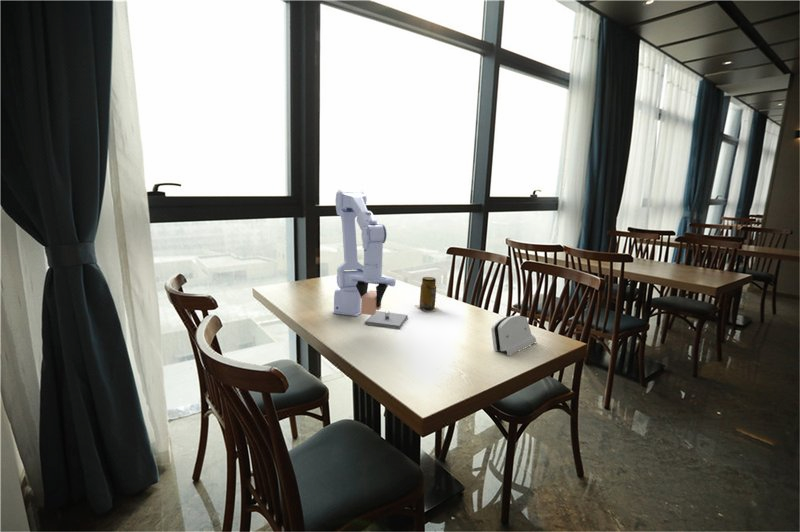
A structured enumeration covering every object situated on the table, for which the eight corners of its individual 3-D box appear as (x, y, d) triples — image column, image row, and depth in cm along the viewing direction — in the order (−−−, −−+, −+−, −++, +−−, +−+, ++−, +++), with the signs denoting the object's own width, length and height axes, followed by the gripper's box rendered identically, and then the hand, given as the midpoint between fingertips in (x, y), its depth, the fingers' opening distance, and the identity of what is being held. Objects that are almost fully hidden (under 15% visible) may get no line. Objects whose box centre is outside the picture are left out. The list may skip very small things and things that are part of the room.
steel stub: (384, 318, 132) (384, 312, 132) (385, 316, 134) (385, 310, 133) (388, 318, 132) (388, 312, 132) (389, 317, 134) (390, 311, 133)
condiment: (430, 304, 155) (432, 275, 153) (441, 310, 148) (443, 280, 145) (414, 306, 152) (416, 276, 149) (425, 312, 144) (427, 281, 142)
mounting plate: (364, 324, 129) (365, 321, 129) (375, 313, 140) (375, 310, 140) (399, 328, 126) (399, 325, 126) (407, 317, 137) (407, 314, 137)
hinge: (508, 356, 108) (501, 321, 109) (494, 356, 112) (487, 322, 113) (537, 342, 120) (530, 311, 120) (523, 342, 123) (517, 312, 124)
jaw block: (361, 313, 117) (361, 296, 116) (369, 306, 125) (369, 290, 124) (373, 315, 117) (373, 298, 115) (380, 307, 124) (381, 291, 123)
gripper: (346, 263, 116) (345, 306, 118) (392, 268, 112) (390, 312, 115) (354, 259, 122) (353, 300, 125) (397, 264, 119) (396, 305, 122)
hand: (371, 305), depth 121 cm, fingers closed on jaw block, 4 cm apart
